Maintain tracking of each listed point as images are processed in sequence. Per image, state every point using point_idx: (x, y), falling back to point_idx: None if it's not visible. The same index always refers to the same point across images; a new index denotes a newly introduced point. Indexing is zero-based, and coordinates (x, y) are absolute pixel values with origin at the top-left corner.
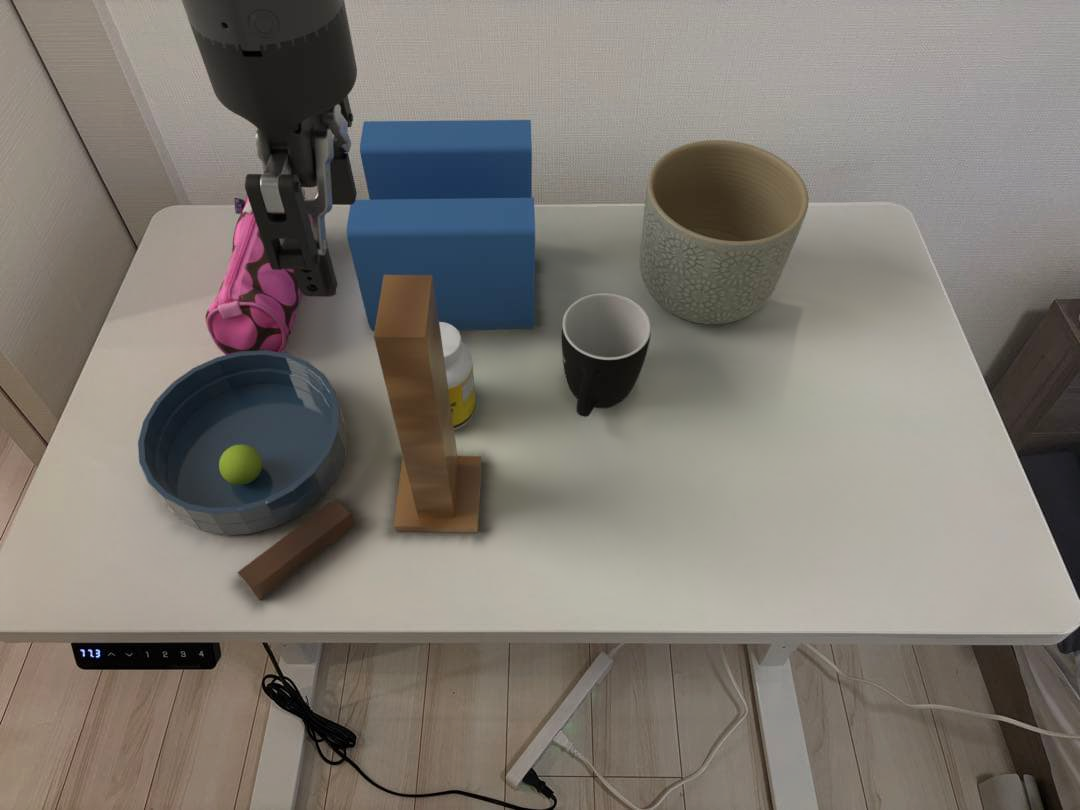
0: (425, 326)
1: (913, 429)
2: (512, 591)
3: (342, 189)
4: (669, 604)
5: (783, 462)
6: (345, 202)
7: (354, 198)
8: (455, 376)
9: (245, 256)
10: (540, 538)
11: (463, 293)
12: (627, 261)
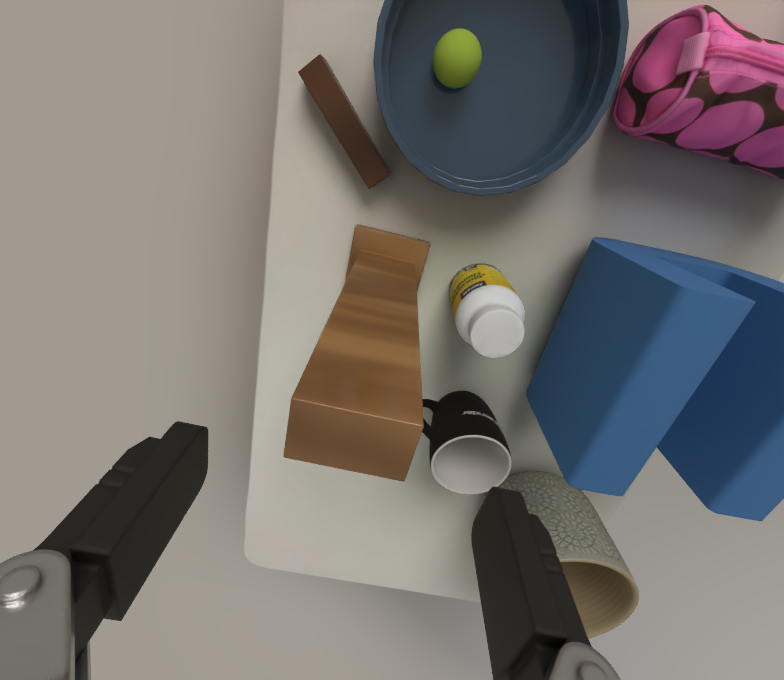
0: (303, 460)
1: (370, 553)
2: (289, 308)
3: (485, 556)
4: (270, 402)
5: (362, 490)
6: (478, 519)
7: (472, 545)
8: (461, 332)
9: None
10: None
11: (566, 361)
12: None
